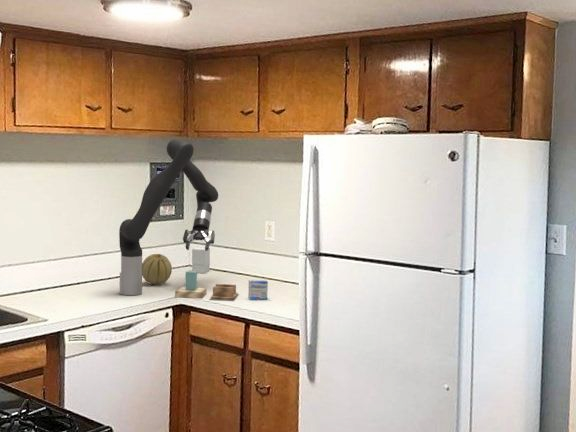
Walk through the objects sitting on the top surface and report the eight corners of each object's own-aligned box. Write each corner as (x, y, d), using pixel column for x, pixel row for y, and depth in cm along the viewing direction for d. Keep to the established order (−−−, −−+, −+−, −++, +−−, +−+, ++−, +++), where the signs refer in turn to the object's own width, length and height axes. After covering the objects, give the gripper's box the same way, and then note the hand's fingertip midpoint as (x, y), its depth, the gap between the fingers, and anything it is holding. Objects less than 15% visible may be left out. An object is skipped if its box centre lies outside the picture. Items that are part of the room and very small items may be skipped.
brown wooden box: (210, 299, 332) (210, 287, 331) (215, 293, 344) (215, 282, 343) (233, 300, 331) (233, 288, 330) (237, 294, 343) (237, 283, 342)
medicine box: (249, 300, 332) (250, 281, 331) (248, 298, 336) (248, 279, 336) (267, 300, 334) (267, 281, 333) (265, 298, 338) (266, 279, 337)
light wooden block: (175, 297, 334) (175, 291, 334) (180, 293, 344) (180, 286, 344) (202, 299, 333) (202, 292, 333) (206, 294, 343) (206, 288, 343)
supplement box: (210, 271, 403) (210, 247, 402) (204, 273, 396) (205, 249, 395) (197, 270, 405) (197, 247, 404) (191, 272, 398) (191, 248, 397)
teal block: (185, 290, 337) (185, 272, 336) (186, 288, 340) (187, 271, 339) (195, 290, 336) (195, 272, 336) (196, 289, 339) (197, 271, 339)
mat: (208, 300, 330) (208, 300, 330) (215, 293, 346) (215, 292, 346) (233, 301, 329) (233, 301, 329) (239, 294, 345) (239, 293, 345)
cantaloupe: (155, 280, 374) (156, 250, 373) (178, 284, 366) (178, 253, 365) (133, 284, 362) (134, 253, 361) (156, 288, 354) (156, 256, 352)
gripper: (185, 216, 356) (180, 243, 345) (216, 217, 354) (211, 245, 344) (188, 226, 361) (182, 253, 351) (217, 227, 360) (213, 255, 350)
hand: (196, 249), depth 348 cm, fingers open, 8 cm apart
